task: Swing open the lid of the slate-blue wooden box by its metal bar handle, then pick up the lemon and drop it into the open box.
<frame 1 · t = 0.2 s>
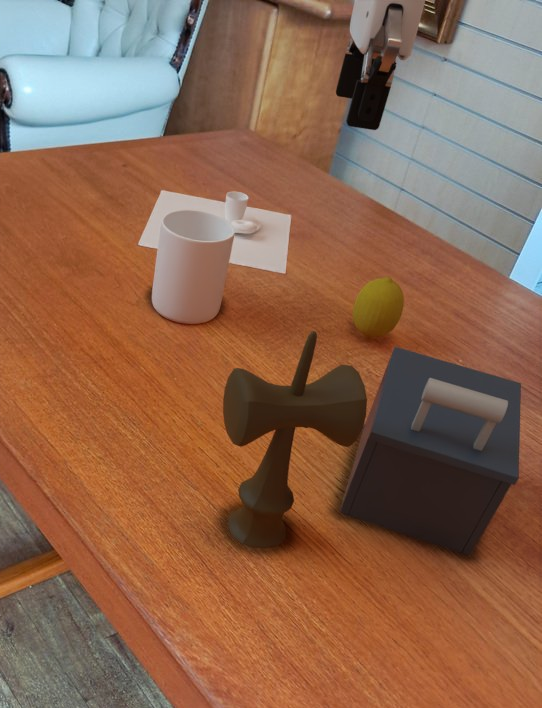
hand: (355, 111, 81), 24 cm above the table, tool pointing down, fingers open, 9 cm apart
mug: (186, 302, 96), on the table
chest: (409, 495, 74), on the table
kendama: (254, 537, 67), on the table
lemon: (367, 340, 95), on the table
teacup and saucer: (219, 230, 112), on the table
lid: (459, 387, 65), point 13 cm above the table, hinge at 0.0°
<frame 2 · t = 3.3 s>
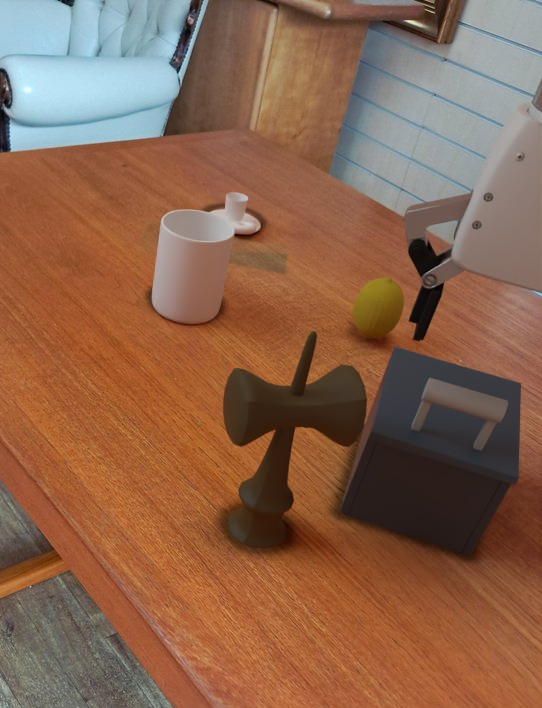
hand: (484, 352, 57), 19 cm above the table, tool pointing down, fingers open, 9 cm apart
nothing on the table moved.
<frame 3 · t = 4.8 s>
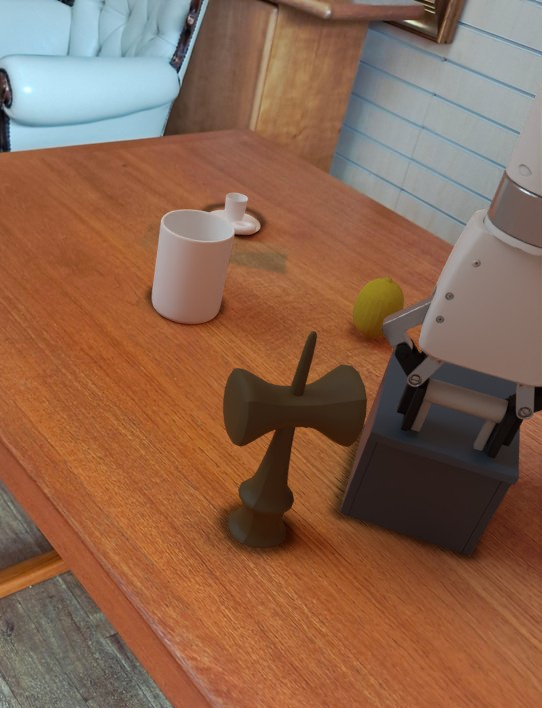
hand: (448, 432, 63), 11 cm above the table, tool pointing down, fingers closed on lid, 6 cm apart
lid: (459, 387, 65), point 13 cm above the table, hinge at 0.0°, touching gripper
everything else where it was.
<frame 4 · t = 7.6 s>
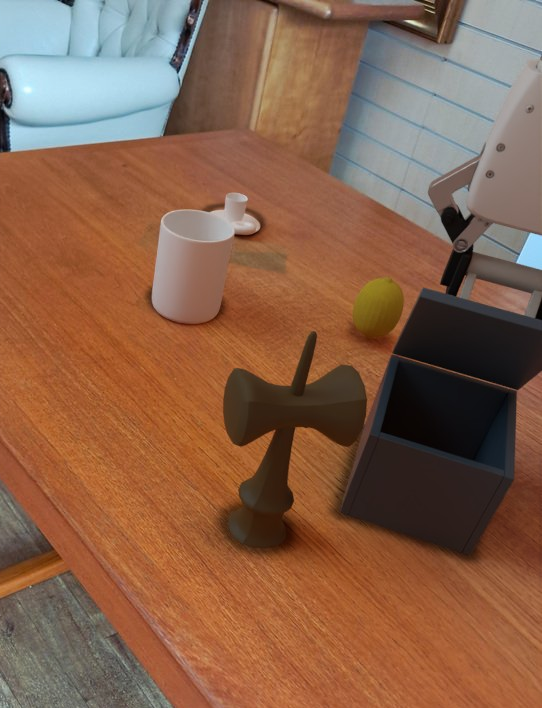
hand: (492, 305, 62), 19 cm above the table, tool pointing down, fingers closed on lid, 6 cm apart
lid: (483, 317, 65), point 17 cm above the table, hinge at 46.5°, touching gripper
everything else where it was.
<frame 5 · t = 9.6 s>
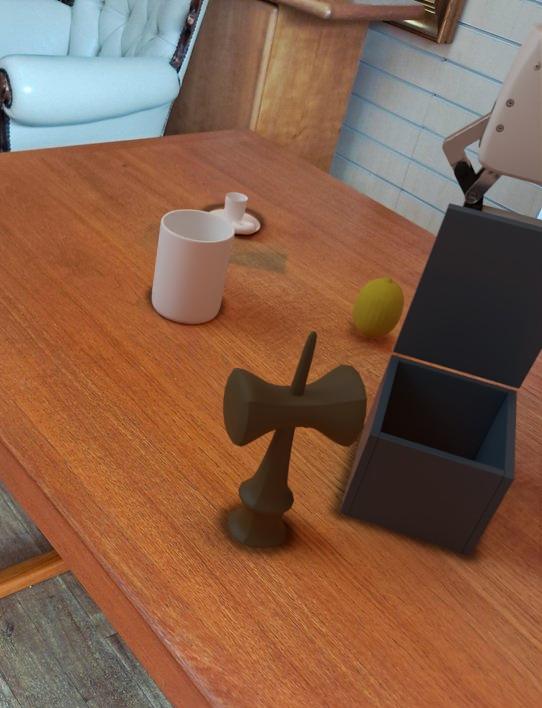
hand: (500, 254, 68), 20 cm above the table, tool pointing down, fingers closed on lid, 6 cm apart
lid: (489, 287, 68), point 18 cm above the table, hinge at 81.9°, touching gripper
everything else where it was.
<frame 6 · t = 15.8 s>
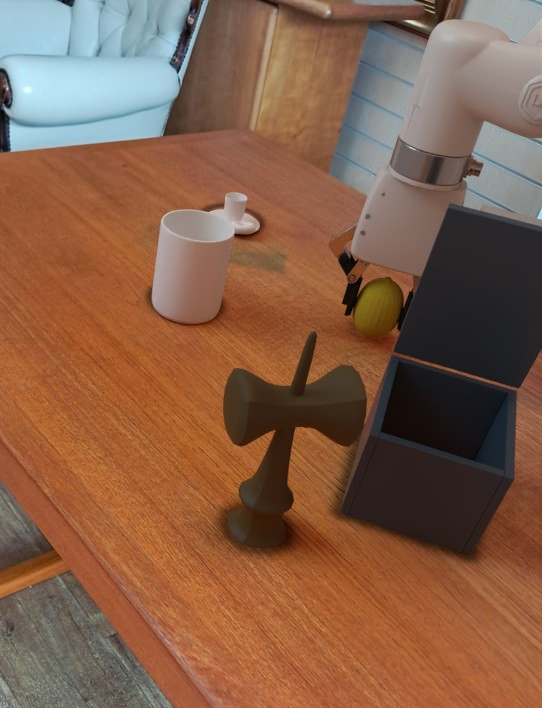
hand: (374, 317, 93), 3 cm above the table, tool pointing down, fingers closed on lemon, 5 cm apart
lemon: (367, 340, 95), on the table, touching gripper
lid: (489, 287, 68), point 18 cm above the table, hinge at 82.1°
everything else where it was.
when the fingers open (10 cm above the table, at t = 25.6 s): lemon drops 7 cm, resting on chest.
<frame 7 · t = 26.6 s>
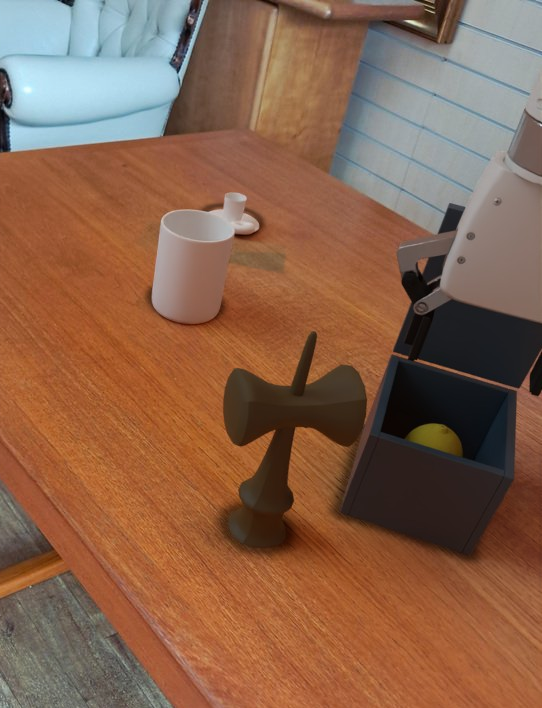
hand: (472, 369, 64), 15 cm above the table, tool pointing down, fingers open, 9 cm apart
lemon: (412, 496, 73), point 1 cm above the table, touching chest
everything else where it was.
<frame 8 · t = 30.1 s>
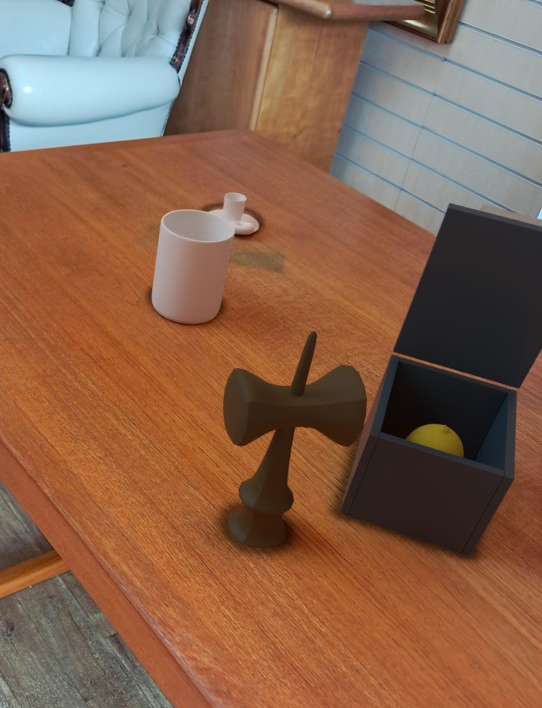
nothing on the table moved.
at the end: lid at +82° (first picture: +0°); lemon inside the target area in the chest (0.9 cm from its centre), point 0.6 cm above the chest's base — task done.
